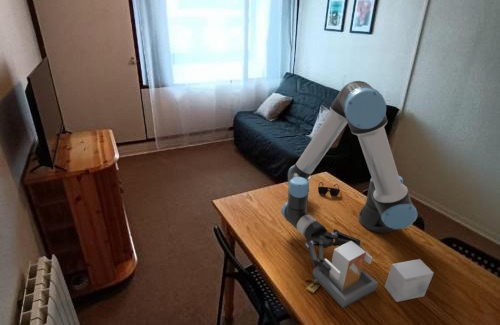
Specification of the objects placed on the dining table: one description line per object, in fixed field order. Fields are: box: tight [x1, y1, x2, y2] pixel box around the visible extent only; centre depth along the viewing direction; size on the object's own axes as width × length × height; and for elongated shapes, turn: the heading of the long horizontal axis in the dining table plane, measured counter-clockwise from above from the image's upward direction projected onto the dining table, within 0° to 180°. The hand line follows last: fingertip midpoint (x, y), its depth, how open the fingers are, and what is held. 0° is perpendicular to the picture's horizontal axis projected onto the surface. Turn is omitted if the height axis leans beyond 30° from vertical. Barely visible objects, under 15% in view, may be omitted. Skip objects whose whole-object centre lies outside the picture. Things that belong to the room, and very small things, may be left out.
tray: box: [312, 259, 379, 309], centre depth 99 cm, size 14×14×4 cm
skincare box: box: [384, 258, 434, 303], centre depth 94 cm, size 10×6×10 cm, turn 103°
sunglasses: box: [317, 181, 341, 197], centre depth 153 cm, size 10×12×5 cm
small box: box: [329, 241, 367, 291], centre depth 96 cm, size 8×6×13 cm
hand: (355, 268), depth 93 cm, fingers open, 13 cm apart
